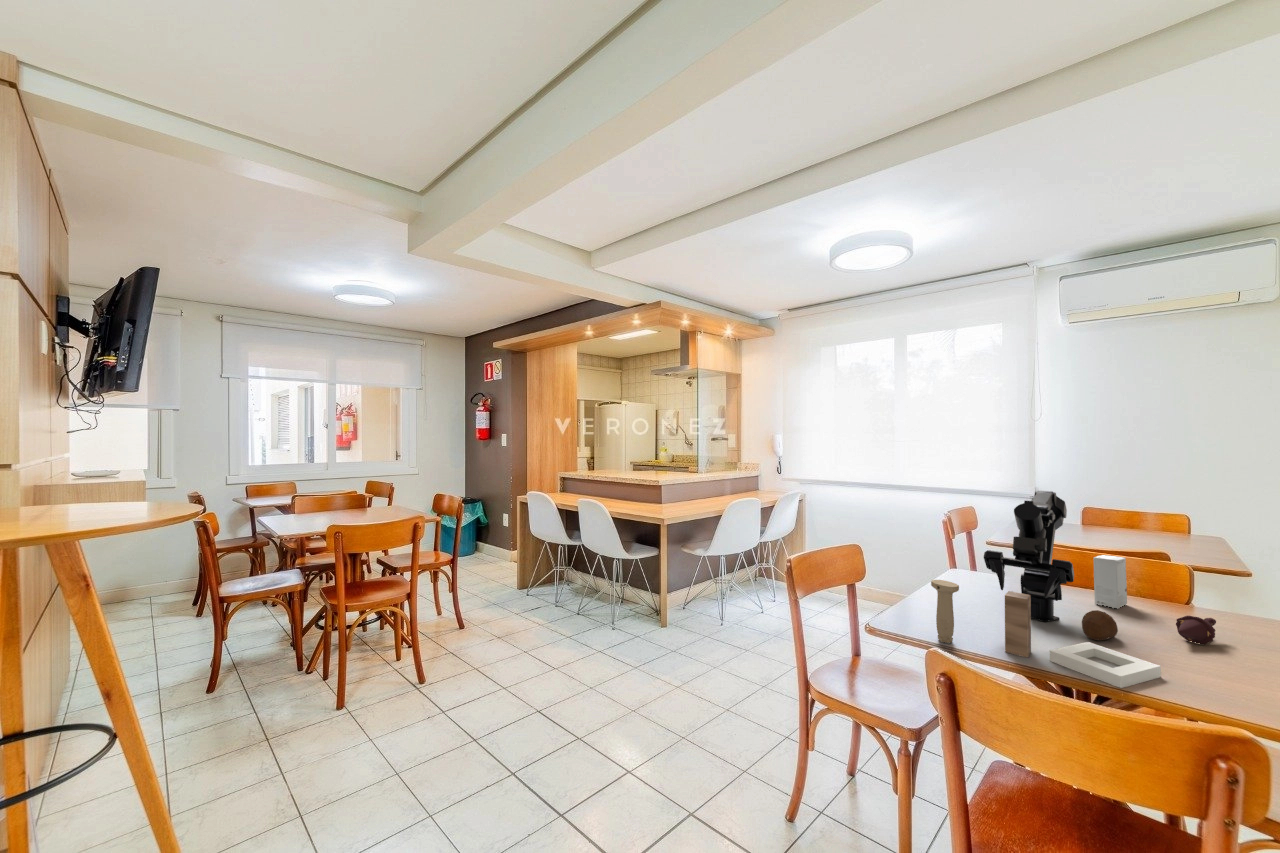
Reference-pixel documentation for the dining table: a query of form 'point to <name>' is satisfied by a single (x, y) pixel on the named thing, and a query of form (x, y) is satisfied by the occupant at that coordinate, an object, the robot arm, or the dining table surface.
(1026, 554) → the robot arm
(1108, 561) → the skincare box
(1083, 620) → the potato
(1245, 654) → the dining table surface
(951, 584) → the handle
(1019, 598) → the peg
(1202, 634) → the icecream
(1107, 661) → the socket block
